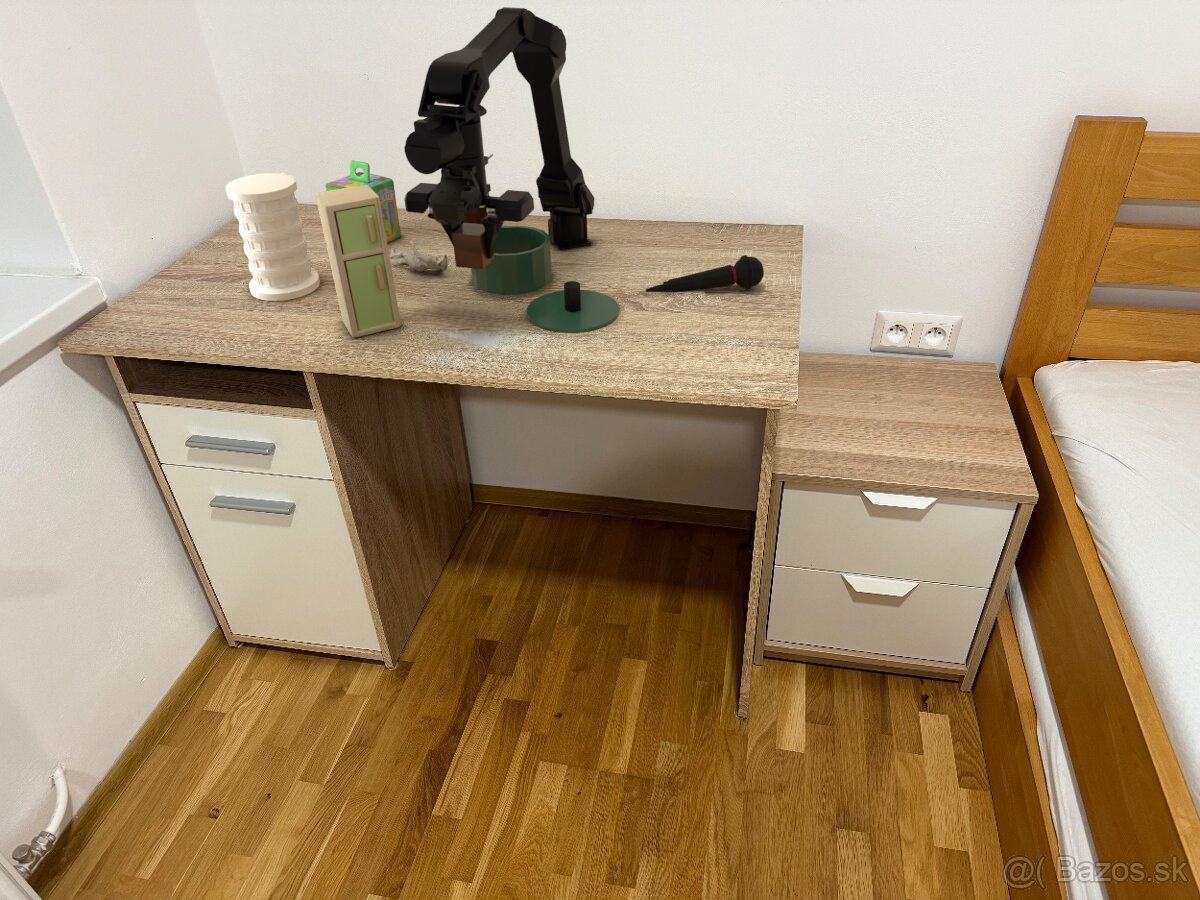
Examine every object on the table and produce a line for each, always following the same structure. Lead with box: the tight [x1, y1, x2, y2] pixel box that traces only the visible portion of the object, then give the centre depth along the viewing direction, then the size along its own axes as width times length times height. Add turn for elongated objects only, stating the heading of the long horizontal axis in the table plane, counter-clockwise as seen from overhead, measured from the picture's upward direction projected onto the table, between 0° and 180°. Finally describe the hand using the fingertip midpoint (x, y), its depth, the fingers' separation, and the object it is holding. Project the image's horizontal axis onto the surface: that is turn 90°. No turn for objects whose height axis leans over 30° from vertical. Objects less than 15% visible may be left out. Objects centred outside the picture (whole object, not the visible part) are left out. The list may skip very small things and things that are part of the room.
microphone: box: [645, 254, 765, 293], centre depth 145 cm, size 6×6×20 cm
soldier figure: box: [389, 240, 449, 273], centre depth 153 cm, size 8×5×12 cm
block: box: [452, 223, 495, 270], centre depth 133 cm, size 5×5×5 cm
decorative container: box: [225, 172, 321, 302], centre depth 145 cm, size 12×12×18 cm
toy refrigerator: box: [315, 185, 402, 339], centre depth 131 cm, size 8×7×21 cm
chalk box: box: [325, 160, 402, 244], centre depth 163 cm, size 9×9×15 cm
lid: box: [526, 280, 620, 334], centre depth 137 cm, size 15×15×5 cm
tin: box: [470, 225, 553, 296], centre depth 148 cm, size 14×14×8 cm
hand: (474, 256), depth 134 cm, fingers closed on block, 4 cm apart
